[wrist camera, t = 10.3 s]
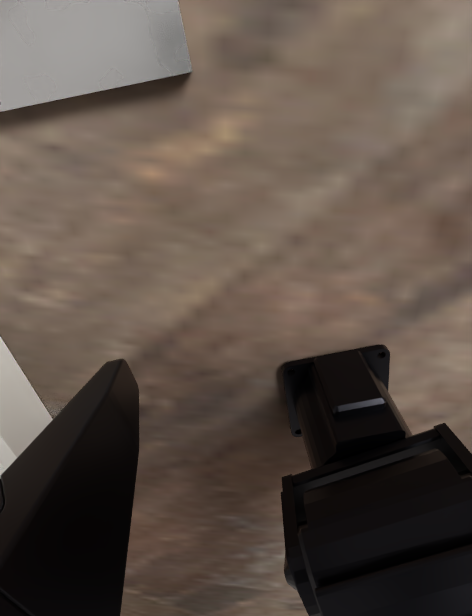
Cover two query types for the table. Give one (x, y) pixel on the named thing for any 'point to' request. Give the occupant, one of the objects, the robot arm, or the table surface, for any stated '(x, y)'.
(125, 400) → the robot arm
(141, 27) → the stud plate
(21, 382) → the bin
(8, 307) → the table surface
